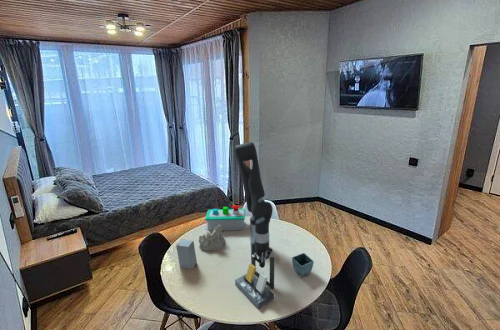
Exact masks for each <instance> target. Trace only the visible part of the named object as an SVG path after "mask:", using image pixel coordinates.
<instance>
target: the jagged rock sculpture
mask: <svg viewBox="0 0 500 330" xmlns="http://www.w3.org/2000/svg"><path fill="white" fill-rule="evenodd" d="M222 231H223V230H222V229H221V225H218V227H216V228H212V232H211V233H209V231H206V232H205V234H202V235H199V236H198V238H199V239H198V243H199V246H198V248H199V249H201V250H204V251H215V250H217V251H218V250H219V249H221V248H222V247H223V246H224V243H225V236H224V234H223V232H222Z"/></svg>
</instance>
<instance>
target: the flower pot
mask: <svg viewBox="0 0 500 330" xmlns="http://www.w3.org/2000/svg"><path fill="white" fill-rule="evenodd" d="M291 261H292V266H293V270H295V272H296V273H297V274H298V275H299V276H300V277H304V276H306V275H308V274H310V273H311V272H312V269H313V267H314V262H315V261H314V260H313V259H312V258H311V257H310V256H308V254H306V253H305V252H303V253H300V254H297V255H295V256H292V257H291Z"/></svg>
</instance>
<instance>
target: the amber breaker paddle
mask: <svg viewBox="0 0 500 330" xmlns="http://www.w3.org/2000/svg"><path fill="white" fill-rule="evenodd" d="M255 271H257V267H255V266H254V265H253V264H251V263H249V265H248V268H247V272H246V274H245V275H246V279H247V280H248V281H249V282H251V281H253V278H254V276H255V275H256V274H255Z"/></svg>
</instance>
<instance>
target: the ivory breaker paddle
mask: <svg viewBox="0 0 500 330" xmlns="http://www.w3.org/2000/svg"><path fill="white" fill-rule="evenodd" d="M259 274H260V275H259V276H258V278H257V279H258V282H257V286H256V289H257V290H258V291H259V292H260V293H261V292H263V291H264V288H265V286H266V285H267V284H266V281H268V276H266V275H265V274H264V272H263V273H259Z"/></svg>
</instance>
